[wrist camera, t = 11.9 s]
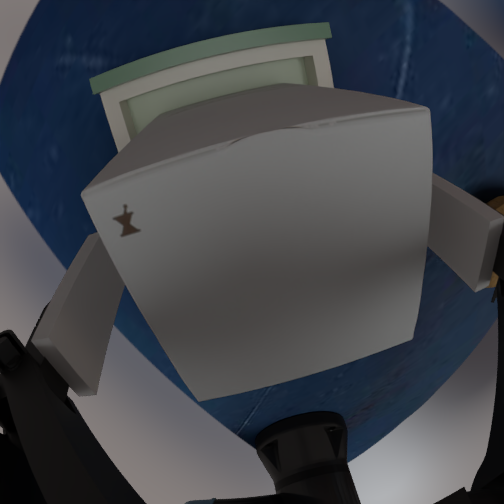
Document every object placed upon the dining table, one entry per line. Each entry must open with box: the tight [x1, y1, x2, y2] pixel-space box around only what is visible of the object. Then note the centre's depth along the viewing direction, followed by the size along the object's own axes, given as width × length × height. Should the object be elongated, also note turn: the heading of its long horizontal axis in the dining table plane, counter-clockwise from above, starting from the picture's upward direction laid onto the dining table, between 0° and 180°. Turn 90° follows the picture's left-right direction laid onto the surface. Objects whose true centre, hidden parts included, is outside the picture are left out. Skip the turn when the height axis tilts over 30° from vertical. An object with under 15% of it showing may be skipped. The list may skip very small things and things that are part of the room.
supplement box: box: [81, 83, 432, 402], centre depth 15 cm, size 9×9×15 cm
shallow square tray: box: [89, 22, 334, 152], centre depth 20 cm, size 15×14×4 cm
